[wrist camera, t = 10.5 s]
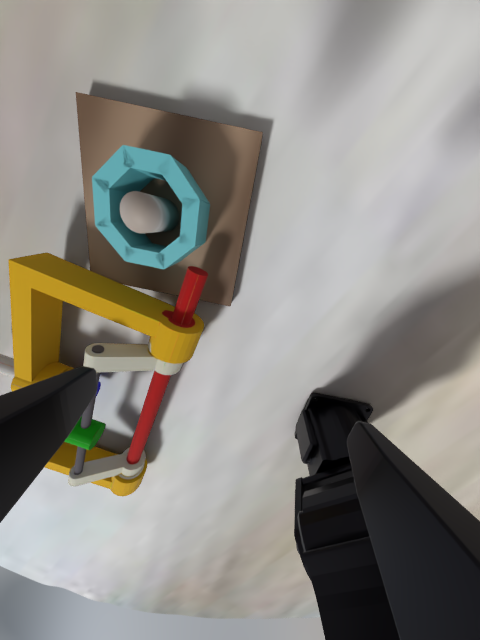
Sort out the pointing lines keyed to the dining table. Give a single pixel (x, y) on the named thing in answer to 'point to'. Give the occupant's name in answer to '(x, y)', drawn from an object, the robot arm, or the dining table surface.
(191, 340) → the yellow jointed frame
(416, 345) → the dining table surface
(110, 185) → the ring
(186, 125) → the post stand
